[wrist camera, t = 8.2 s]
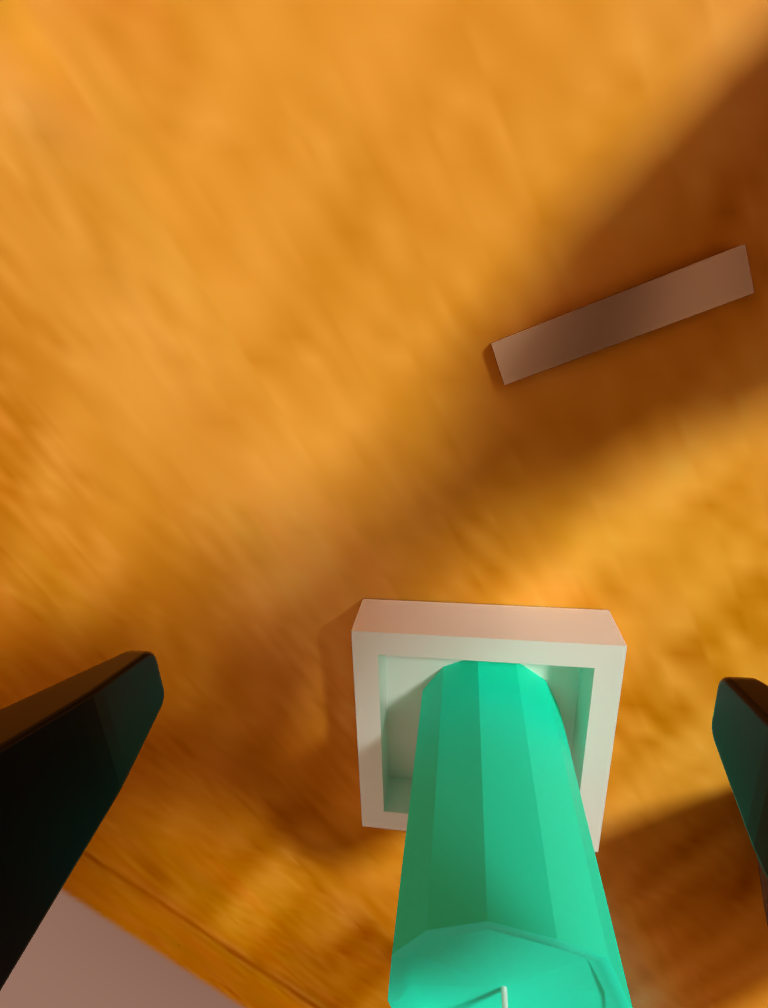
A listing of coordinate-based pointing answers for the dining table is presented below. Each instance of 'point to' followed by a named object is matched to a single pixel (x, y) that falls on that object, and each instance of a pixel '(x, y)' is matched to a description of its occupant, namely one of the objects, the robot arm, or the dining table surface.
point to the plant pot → (764, 888)
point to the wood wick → (626, 315)
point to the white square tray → (479, 637)
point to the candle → (499, 856)
